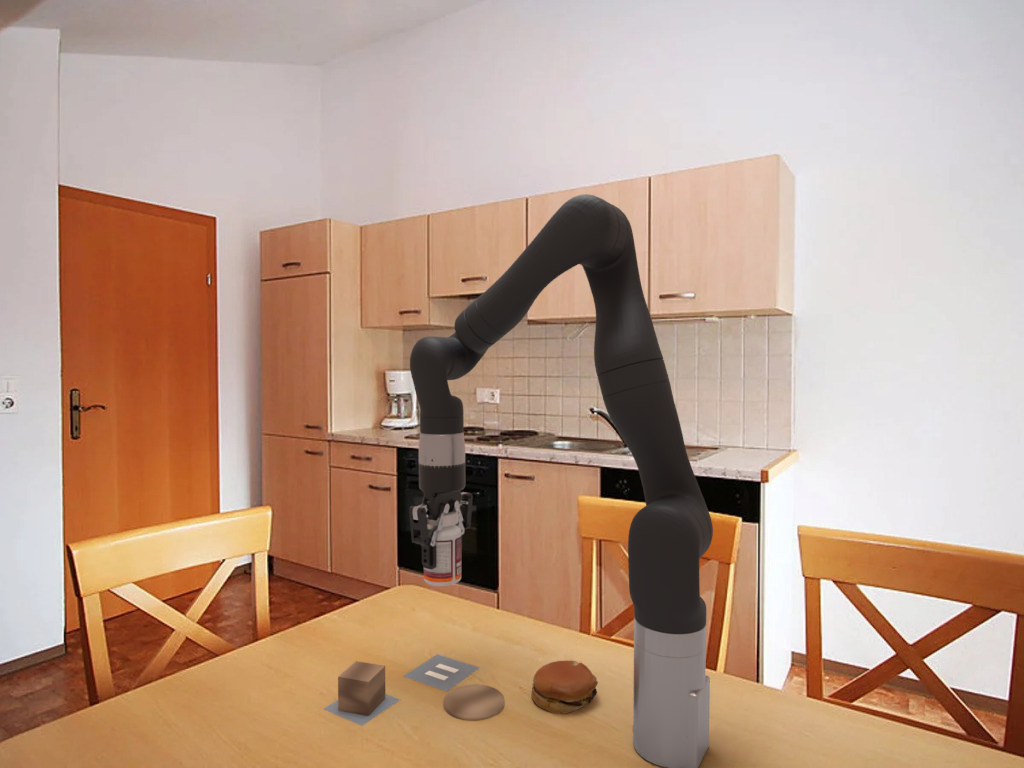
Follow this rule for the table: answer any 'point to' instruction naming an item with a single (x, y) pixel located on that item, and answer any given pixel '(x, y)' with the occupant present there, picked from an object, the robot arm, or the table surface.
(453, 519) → the pill bottle
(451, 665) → the code tile
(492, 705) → the coaster
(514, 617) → the table surface
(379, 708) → the code tile
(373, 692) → the walnut block
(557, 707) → the burger
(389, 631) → the table surface
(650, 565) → the robot arm
